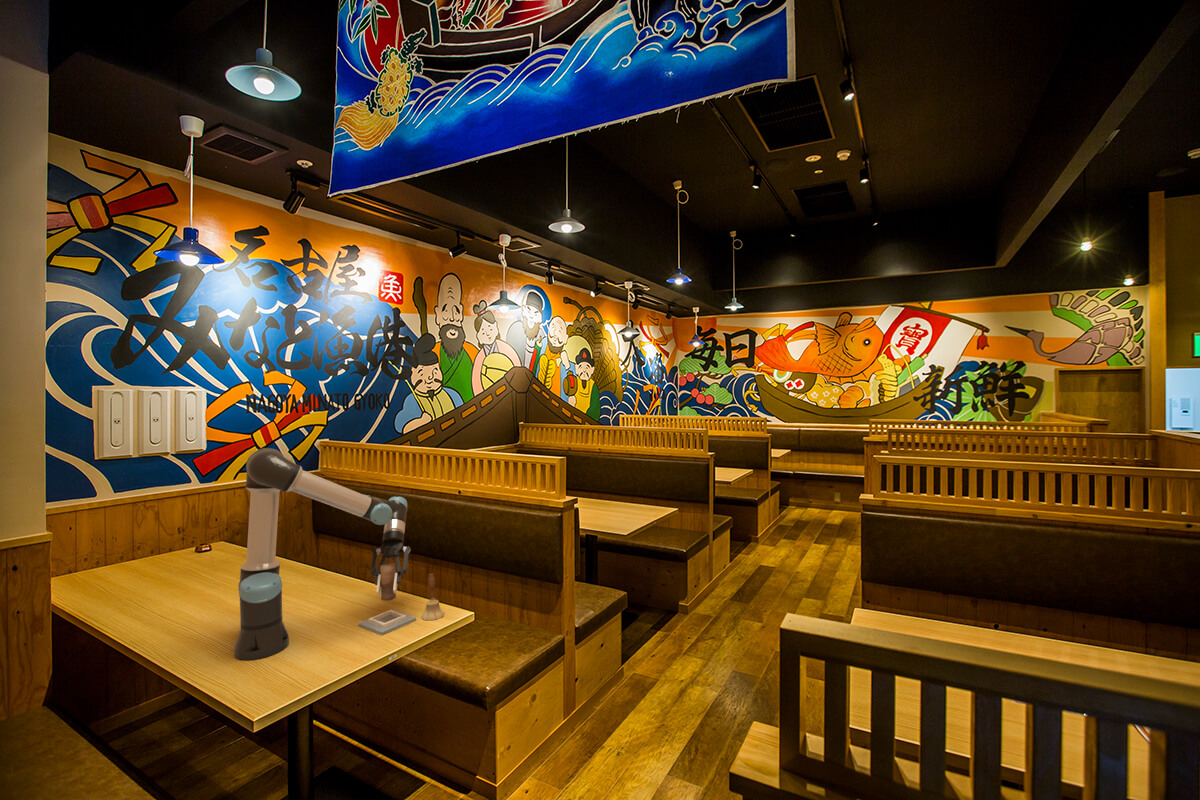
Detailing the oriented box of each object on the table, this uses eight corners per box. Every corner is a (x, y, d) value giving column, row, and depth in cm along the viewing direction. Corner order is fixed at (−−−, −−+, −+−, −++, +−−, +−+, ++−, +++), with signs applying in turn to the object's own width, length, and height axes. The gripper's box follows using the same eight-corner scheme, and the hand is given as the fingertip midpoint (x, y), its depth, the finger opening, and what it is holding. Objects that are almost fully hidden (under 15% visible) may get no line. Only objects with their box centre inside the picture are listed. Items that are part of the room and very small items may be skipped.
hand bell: (431, 622, 192) (430, 579, 192) (416, 617, 197) (415, 575, 196) (449, 614, 199) (448, 572, 199) (434, 609, 204) (433, 568, 203)
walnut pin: (386, 601, 189) (385, 568, 189) (378, 598, 192) (377, 566, 191) (398, 597, 193) (398, 564, 193) (390, 594, 196) (389, 562, 196)
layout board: (381, 635, 183) (381, 629, 182) (358, 625, 190) (358, 619, 190) (416, 620, 194) (415, 614, 194) (392, 611, 202) (392, 606, 202)
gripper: (419, 537, 209) (414, 594, 193) (370, 540, 205) (361, 599, 190) (417, 527, 204) (411, 585, 188) (367, 530, 200) (357, 590, 184)
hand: (386, 592), depth 189 cm, fingers closed on walnut pin, 5 cm apart
